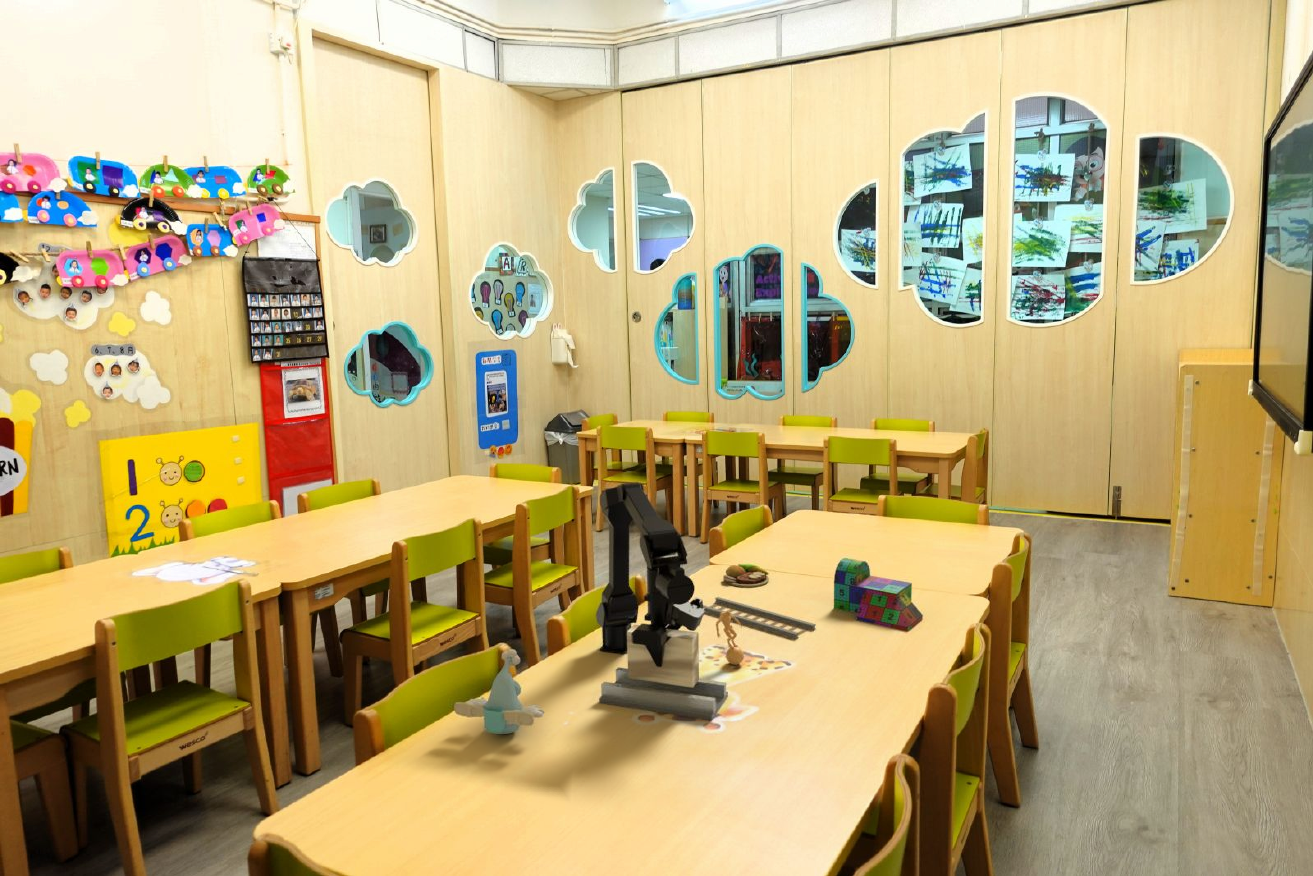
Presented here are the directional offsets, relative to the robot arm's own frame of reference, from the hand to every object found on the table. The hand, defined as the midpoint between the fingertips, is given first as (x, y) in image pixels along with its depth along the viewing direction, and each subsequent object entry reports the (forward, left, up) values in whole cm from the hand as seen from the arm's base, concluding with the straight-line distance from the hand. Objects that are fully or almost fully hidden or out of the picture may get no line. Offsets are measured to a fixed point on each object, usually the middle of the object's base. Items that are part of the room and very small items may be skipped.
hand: (663, 662), depth 176 cm
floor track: (0, 0, -8) cm, 8 cm away
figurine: (+8, +22, -8) cm, 25 cm away
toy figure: (-24, -22, -8) cm, 34 cm away
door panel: (0, 0, -4) cm, 4 cm away
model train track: (+6, +50, -9) cm, 51 cm away
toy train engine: (+35, +64, -9) cm, 73 cm away
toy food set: (-4, +80, -9) cm, 80 cm away
